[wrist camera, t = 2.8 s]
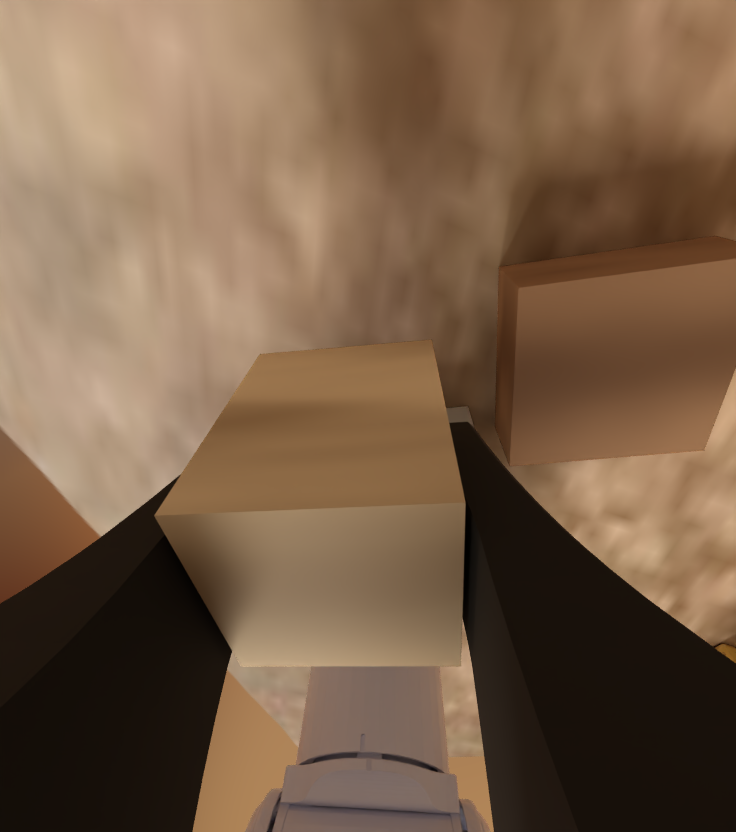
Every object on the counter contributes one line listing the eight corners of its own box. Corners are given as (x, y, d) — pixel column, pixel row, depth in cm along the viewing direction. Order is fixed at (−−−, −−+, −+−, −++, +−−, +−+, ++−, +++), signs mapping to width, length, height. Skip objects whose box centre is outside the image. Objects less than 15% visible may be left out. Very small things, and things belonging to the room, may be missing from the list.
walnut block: (659, 407, 17) (704, 450, 15) (493, 423, 18) (509, 466, 16) (708, 234, 14) (779, 252, 11) (496, 264, 14) (518, 287, 12)
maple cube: (435, 474, 11) (461, 666, 7) (295, 481, 12) (240, 666, 7) (431, 339, 9) (465, 502, 5) (259, 354, 9) (153, 515, 5)
